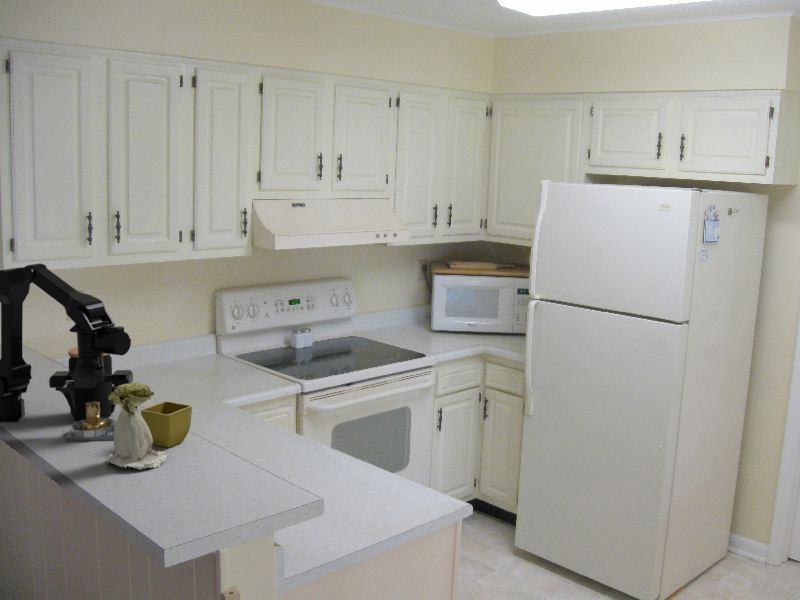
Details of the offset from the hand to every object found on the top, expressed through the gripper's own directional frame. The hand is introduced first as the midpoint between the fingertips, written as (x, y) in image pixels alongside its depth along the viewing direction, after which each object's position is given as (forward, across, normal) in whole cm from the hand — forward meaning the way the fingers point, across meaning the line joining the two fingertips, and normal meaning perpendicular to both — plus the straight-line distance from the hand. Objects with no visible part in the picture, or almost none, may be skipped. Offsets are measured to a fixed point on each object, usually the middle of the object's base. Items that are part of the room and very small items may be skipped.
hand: (93, 412), depth 211 cm
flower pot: (+6, +19, -8) cm, 22 cm away
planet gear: (+4, 0, 0) cm, 5 cm away
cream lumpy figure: (+6, +14, -20) cm, 25 cm away
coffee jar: (+6, -4, +14) cm, 16 cm away
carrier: (+6, +4, 0) cm, 7 cm away
